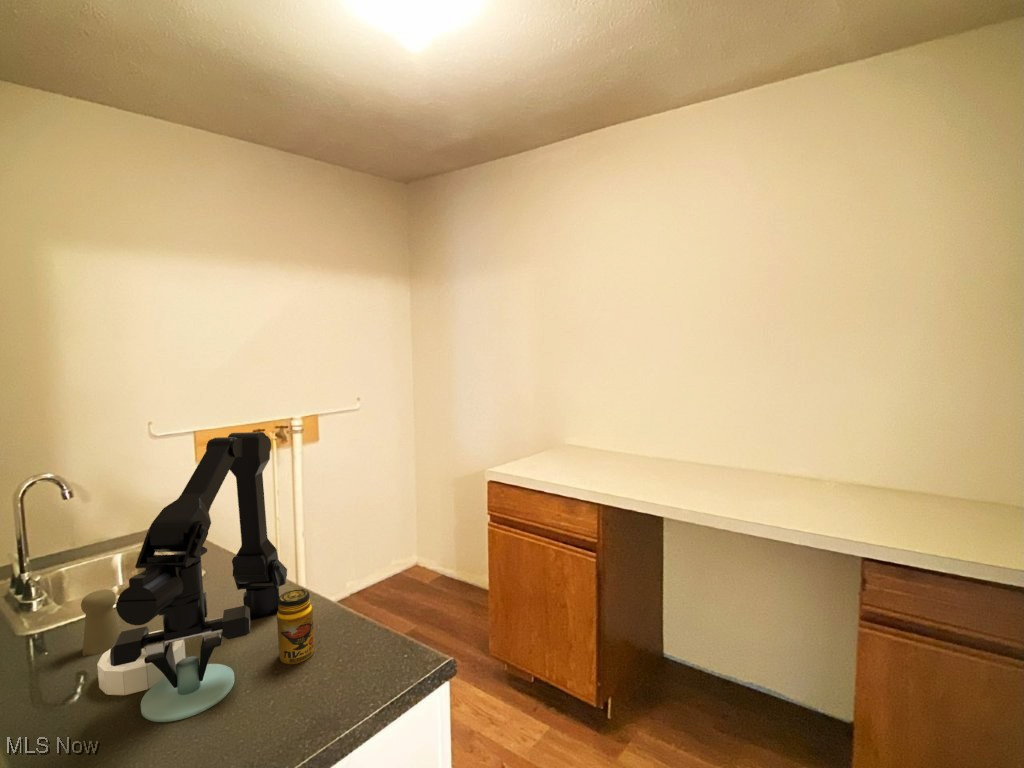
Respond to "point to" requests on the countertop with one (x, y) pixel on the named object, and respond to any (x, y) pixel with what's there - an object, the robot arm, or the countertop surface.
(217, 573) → the countertop surface
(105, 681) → the bowl
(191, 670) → the lid
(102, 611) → the pepper shaker
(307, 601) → the condiment
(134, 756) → the countertop surface
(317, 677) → the countertop surface
